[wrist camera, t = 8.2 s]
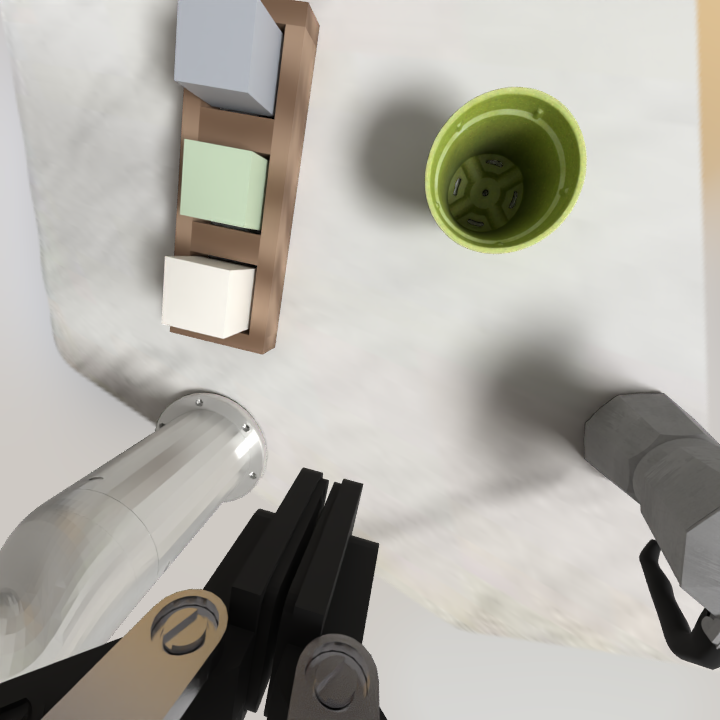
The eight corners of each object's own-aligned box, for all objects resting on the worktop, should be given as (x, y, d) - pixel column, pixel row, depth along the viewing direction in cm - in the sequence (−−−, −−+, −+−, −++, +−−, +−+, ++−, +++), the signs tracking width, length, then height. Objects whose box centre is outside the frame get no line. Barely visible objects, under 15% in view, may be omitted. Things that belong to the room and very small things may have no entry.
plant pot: (523, 265, 33) (554, 268, 25) (413, 241, 34) (408, 236, 26) (562, 143, 30) (612, 102, 22) (442, 121, 31) (447, 73, 23)
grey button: (275, 117, 31) (247, 92, 27) (212, 106, 32) (174, 80, 27) (284, 36, 30) (257, -5, 25) (218, 26, 31) (178, -16, 26)
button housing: (274, 347, 39) (262, 354, 36) (188, 326, 40) (169, 331, 37) (319, 25, 31) (308, 2, 28) (211, 9, 32) (189, -15, 29)
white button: (250, 328, 36) (223, 338, 32) (195, 314, 37) (161, 323, 32) (257, 268, 35) (230, 270, 30) (200, 256, 36) (164, 256, 31)
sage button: (269, 231, 36) (243, 227, 31) (212, 219, 36) (179, 214, 31) (277, 165, 34) (252, 151, 29) (218, 154, 35) (184, 138, 30)
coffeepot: (617, 354, 34) (813, 457, 16) (730, 389, 33) (1060, 535, 16) (543, 500, 38) (636, 700, 21) (641, 533, 37) (821, 770, 20)
